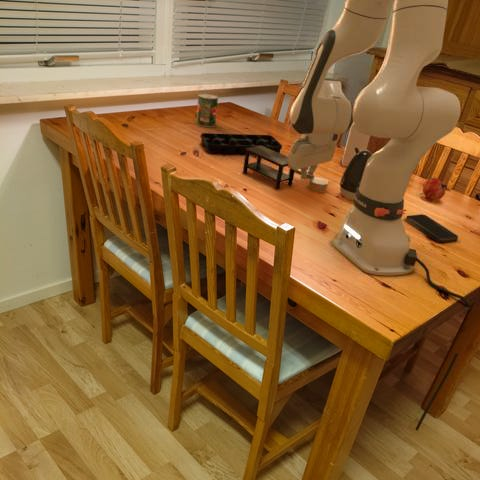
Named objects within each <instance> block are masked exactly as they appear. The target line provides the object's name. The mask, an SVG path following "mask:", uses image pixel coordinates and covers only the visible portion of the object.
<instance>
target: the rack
mask: <svg viewBox="0 0 480 480" xmlns="http://www.w3.org/2000/svg"><path fill="white" fill-rule="evenodd" d="M245 151H246V153H245V155H244V160H243V168H242V169H243V170H242V173H243V174H244V175H246V174H248V170H251V171H252V172H255V173H257V174H259V175H261V176H263V177H265V178H267V179H269V180H272V181H274V182H275V186H274V189H275V190H280V188H281V183H284V182H287V186H289V187H292V186H293V182H294V177H295V173H294V172H295V170H293V169H291V170H290V175H288V174H289V173H286V172H283V171H284V168H286V167H288V164H287V160H288V156H286V155H284V154H282V153H281V152H280V153H277V152H275V151H273V150H270V149H268V148H266V147H263V146H261V145H260V146H255V147H250V148H245ZM250 155H253V156H255V157H256V161H254V162H253V161H252V162H250V163H249V161H250ZM262 160H263V161H266V162H269V163H271V164H273V165H275V166H277V167H278V169H277V168H274V167H272V166H270V165H269V164H266V163H264V162H262Z"/></svg>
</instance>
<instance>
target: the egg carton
mask: <svg viewBox="0 0 480 480" xmlns="http://www.w3.org/2000/svg"><path fill="white" fill-rule="evenodd" d="M200 139H201V142H200V143H201V145H202V146H203V147H204V148H205V151H206V152H207V153H210V154H215V155H217V154H219V155H220V154H221V153H222V154H224V155H235V154H238V155H242V156H243V155H244V156H245V153H246V151H245V148H250V147H255V146H260V145H261V146H263V147H266V148H268V149H270V150H273V151H275V152H277V153H280V154H281V150H282V149H283V145H282V143H280V142H279V141H278V140H277V139H276V138H275V137H274V136H273V135H270V134H250V133H249V134H246V133H244V134H243V133H219V132H218V133H217V132H215V133H214V132H209V133H208V132H202V133H200Z"/></svg>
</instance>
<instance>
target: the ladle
mask: <svg viewBox="0 0 480 480" xmlns="http://www.w3.org/2000/svg"><path fill="white" fill-rule="evenodd" d="M288 169H289V170H288V173H287V174H288V175H290V170H291V168H288ZM294 174H297V175H299V176H301V174H302V173H301V169H298V170H295V172H294ZM307 174H309V173H307ZM307 180H309V182H308V186H307V187H308V189H310V190H312V191H313V192H319V193H324V192H326V191H327V189H328V185H329V180H327V179H325V178H323V177H317V176H315V175H314V174H313V175H311V174H309V175H308V179H307Z"/></svg>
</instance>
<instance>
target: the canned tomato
mask: <svg viewBox="0 0 480 480" xmlns="http://www.w3.org/2000/svg"><path fill="white" fill-rule="evenodd" d="M197 96H198V99H197V110H196V111H197V112H196V123H195V124H196V125H197V126H199V127H203V128H214V127H216V123H217V113H218V103H219V102H218V101H219V96H218V95H216V94H212V93H203V92H202V93H198V95H197Z"/></svg>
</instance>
